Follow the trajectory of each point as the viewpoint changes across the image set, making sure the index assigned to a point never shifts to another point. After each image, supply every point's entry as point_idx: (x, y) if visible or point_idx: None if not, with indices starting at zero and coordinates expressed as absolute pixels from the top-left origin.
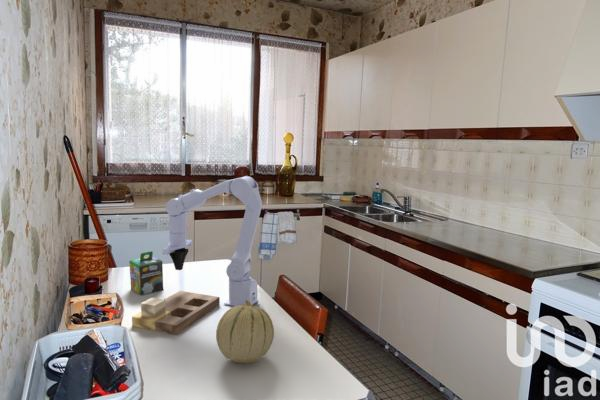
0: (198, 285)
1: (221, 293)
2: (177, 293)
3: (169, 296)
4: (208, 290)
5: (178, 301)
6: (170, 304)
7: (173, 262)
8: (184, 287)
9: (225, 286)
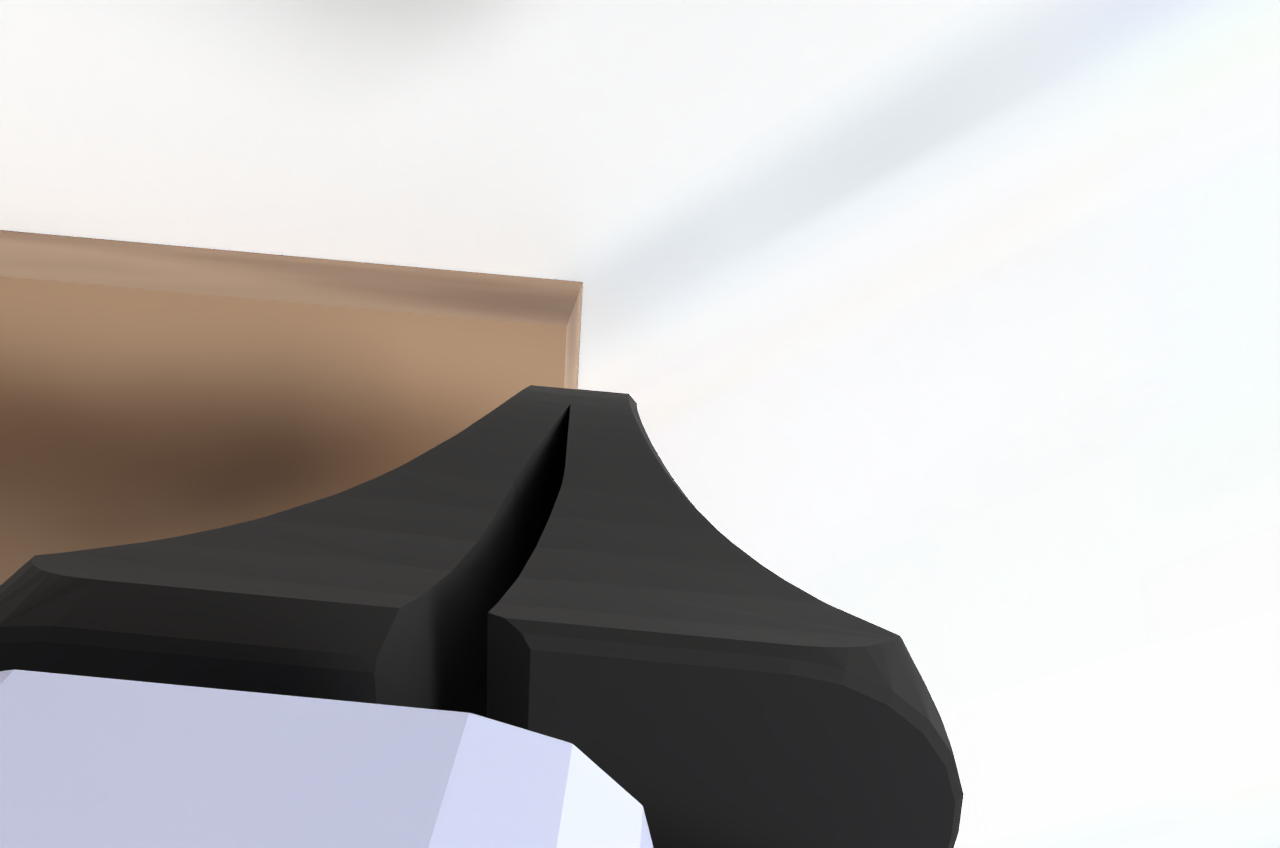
0: (1244, 252)
1: (933, 683)
2: (437, 353)
3: (269, 302)
4: (1019, 496)
5: (180, 524)
6: (38, 479)
7: (431, 456)
8: (1112, 59)
9: (1221, 637)
